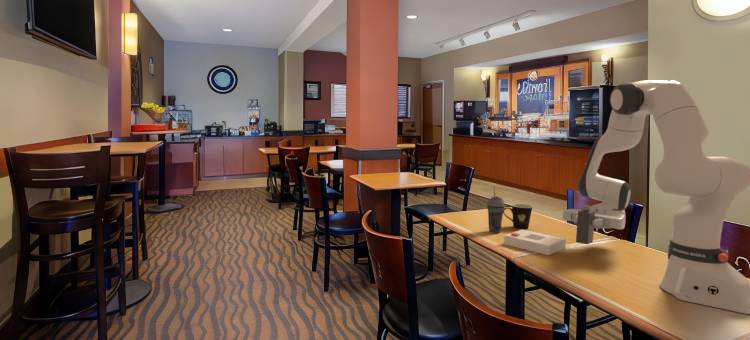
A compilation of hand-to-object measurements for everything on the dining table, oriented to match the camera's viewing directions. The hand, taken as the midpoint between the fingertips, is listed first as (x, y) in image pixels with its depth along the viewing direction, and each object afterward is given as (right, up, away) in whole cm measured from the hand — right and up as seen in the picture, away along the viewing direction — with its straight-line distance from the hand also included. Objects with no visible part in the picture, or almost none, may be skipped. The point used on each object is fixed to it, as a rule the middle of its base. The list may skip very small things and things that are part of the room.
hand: (584, 221), depth 151 cm
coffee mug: (-9, -8, +44) cm, 46 cm away
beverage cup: (-22, -9, +35) cm, 42 cm away
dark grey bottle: (+1, -7, +1) cm, 8 cm away
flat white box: (-12, -11, +16) cm, 23 cm away
